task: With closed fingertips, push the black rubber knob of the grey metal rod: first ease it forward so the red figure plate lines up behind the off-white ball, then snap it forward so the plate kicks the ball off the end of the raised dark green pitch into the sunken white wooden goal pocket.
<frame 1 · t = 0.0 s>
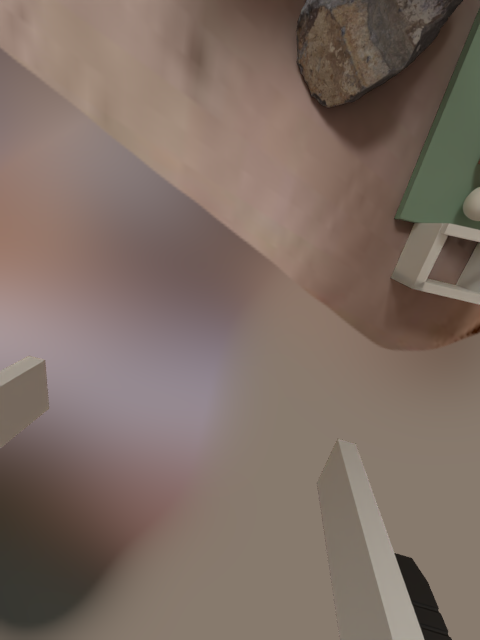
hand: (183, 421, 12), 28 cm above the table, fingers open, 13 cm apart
goal: (437, 259, 33), on the table
rock: (362, 36, 27), on the table
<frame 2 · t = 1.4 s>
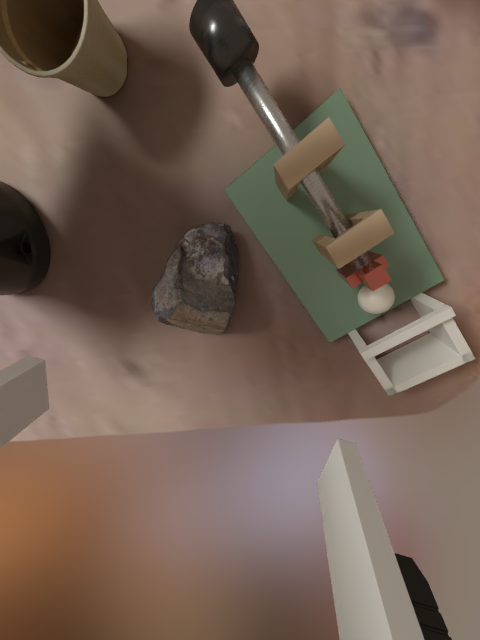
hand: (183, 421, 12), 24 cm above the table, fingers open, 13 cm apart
rod: (297, 163, 23), point 6 cm above the table, slide at 0.0 cm
ball: (375, 297, 28), point 3 cm above the table, touching pitch
pitch: (331, 234, 30), on the table
goal: (392, 331, 33), on the table
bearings: (316, 207, 28), resting on pitch
flower pot: (103, 63, 28), on the table
rock: (199, 282, 35), on the table
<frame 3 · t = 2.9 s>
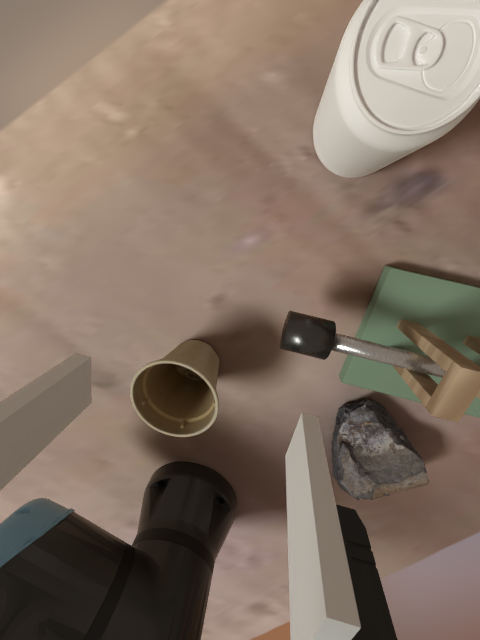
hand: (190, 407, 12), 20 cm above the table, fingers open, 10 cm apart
rod: (414, 357, 24), point 6 cm above the table, slide at 0.0 cm
pitch: (456, 348, 29), on the table
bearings: (433, 347, 28), resting on pitch
flower pot: (197, 359, 35), on the table
beverage can: (357, 129, 24), on the table
rock: (361, 441, 36), on the table
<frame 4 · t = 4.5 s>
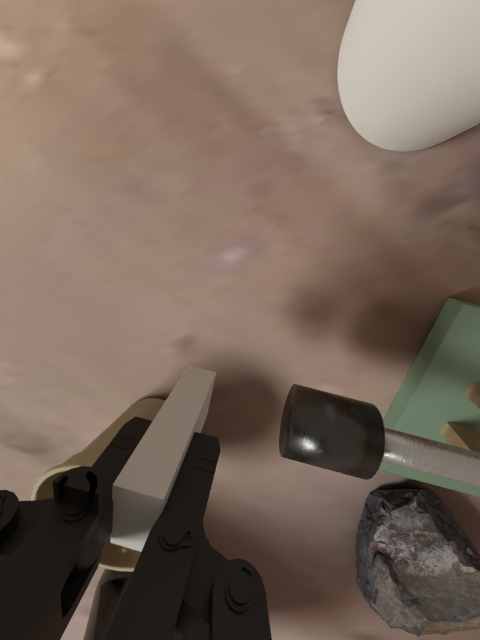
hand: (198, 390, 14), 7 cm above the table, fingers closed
flower pot: (160, 422, 24), on the table
beverage can: (414, 66, 14), on the table
rock: (397, 534, 26), on the table
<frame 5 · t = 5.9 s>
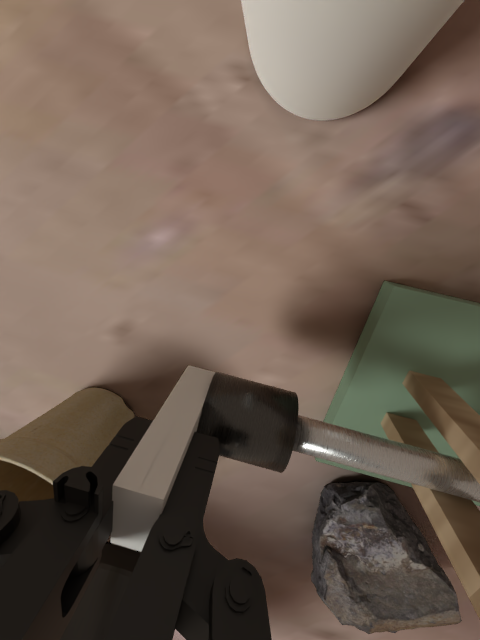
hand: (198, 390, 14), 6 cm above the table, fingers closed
rod: (449, 459, 13), point 6 cm above the table, slide at 0.6 cm, touching gripper
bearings: (463, 416, 17), resting on pitch
flower pot: (106, 413, 24), on the table
beverage can: (332, 26, 13), on the table
rock: (355, 529, 25), on the table
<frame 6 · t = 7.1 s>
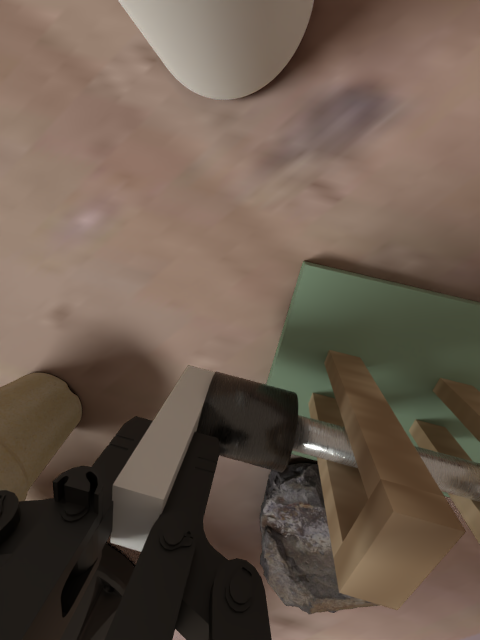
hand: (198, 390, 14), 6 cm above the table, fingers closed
rod: (450, 459, 13), point 6 cm above the table, slide at 5.7 cm, touching gripper
pitch: (426, 395, 18), on the table
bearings: (385, 395, 17), resting on pitch
flower pot: (54, 399, 24), on the table
beverage can: (229, 6, 13), on the table
rock: (305, 512, 25), on the table
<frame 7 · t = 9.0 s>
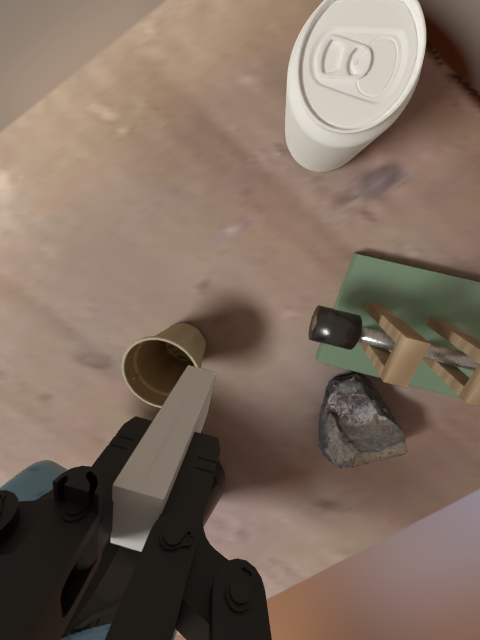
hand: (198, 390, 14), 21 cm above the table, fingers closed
rod: (431, 348, 27), point 6 cm above the table, slide at 5.7 cm
pitch: (421, 330, 32), on the table
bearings: (398, 327, 31), resting on pitch
flower pot: (186, 341, 38), on the table
beverage can: (325, 128, 26), on the table
rock: (347, 415, 38), on the table
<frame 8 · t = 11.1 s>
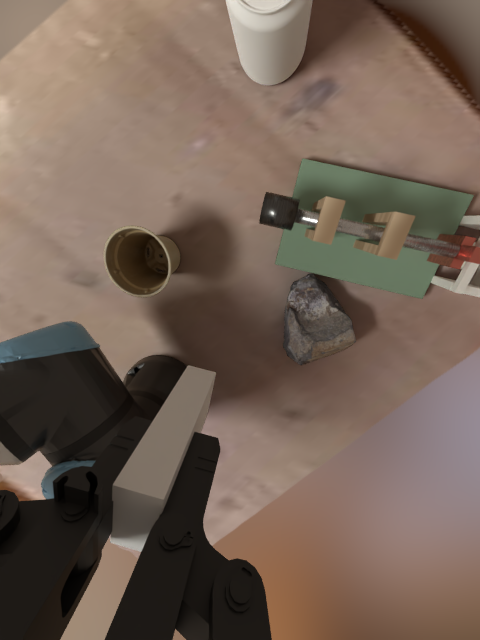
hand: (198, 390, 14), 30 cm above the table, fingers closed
rod: (361, 230, 32), point 6 cm above the table, slide at 5.7 cm
pitch: (362, 232, 37), on the table
goal: (465, 255, 37), on the table
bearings: (340, 227, 36), resting on pitch
flower pot: (163, 255, 43), on the table
beverage can: (271, 47, 32), on the table
rock: (308, 321, 44), on the table, touching pitch
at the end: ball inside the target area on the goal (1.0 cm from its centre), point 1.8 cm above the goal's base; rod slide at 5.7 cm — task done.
